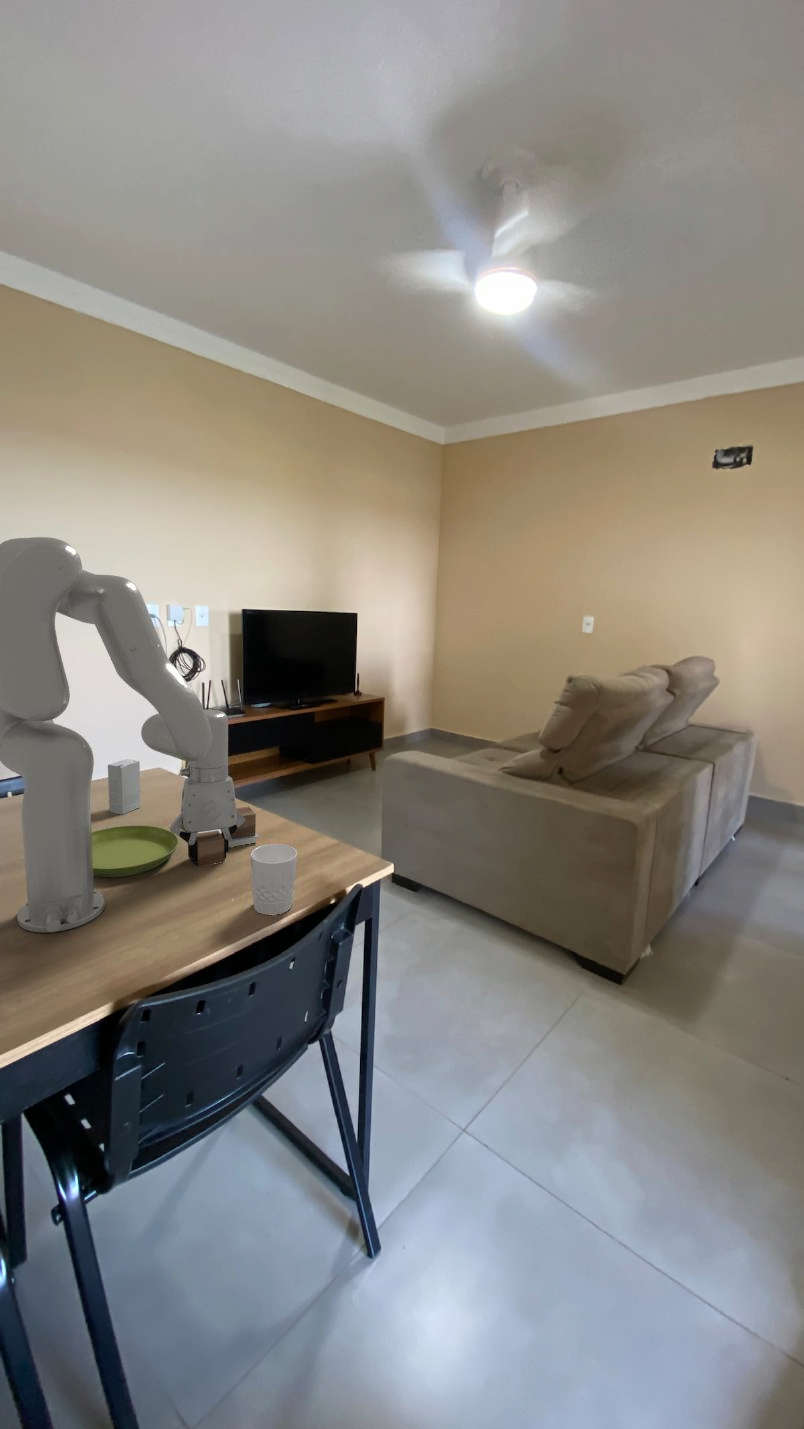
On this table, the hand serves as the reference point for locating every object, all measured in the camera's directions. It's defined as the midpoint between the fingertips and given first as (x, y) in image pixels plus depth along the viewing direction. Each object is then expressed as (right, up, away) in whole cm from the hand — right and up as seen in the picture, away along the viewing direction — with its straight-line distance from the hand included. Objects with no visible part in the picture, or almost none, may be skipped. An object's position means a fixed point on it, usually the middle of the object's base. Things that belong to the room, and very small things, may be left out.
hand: (208, 857), depth 120 cm
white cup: (+17, -5, -16) cm, 24 cm away
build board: (-2, +2, +14) cm, 14 cm away
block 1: (0, -1, 0) cm, 1 cm away
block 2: (+4, +3, +10) cm, 11 cm away
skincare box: (-28, +6, +24) cm, 37 cm away
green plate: (-17, 0, -1) cm, 17 cm away
